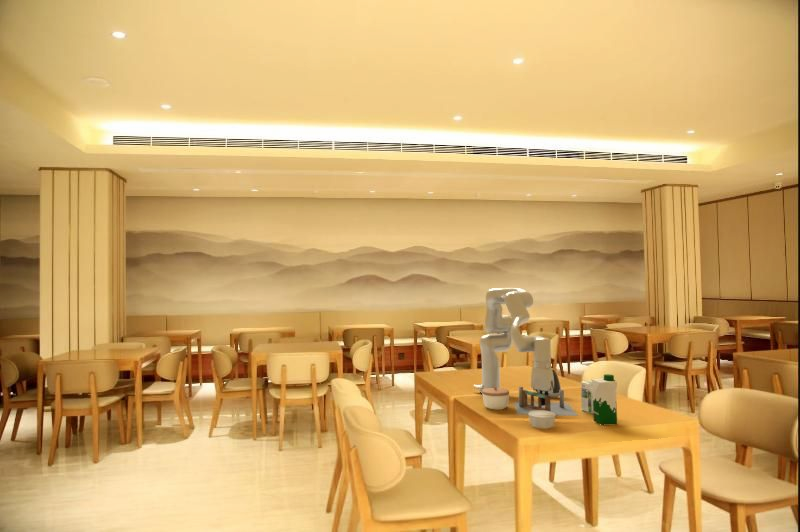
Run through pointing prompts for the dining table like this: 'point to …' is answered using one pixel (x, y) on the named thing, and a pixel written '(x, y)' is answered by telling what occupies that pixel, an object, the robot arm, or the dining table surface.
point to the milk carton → (605, 400)
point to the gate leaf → (539, 407)
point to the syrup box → (587, 396)
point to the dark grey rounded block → (555, 386)
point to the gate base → (556, 408)
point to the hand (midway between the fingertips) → (543, 404)
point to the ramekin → (542, 419)
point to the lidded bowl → (495, 398)
